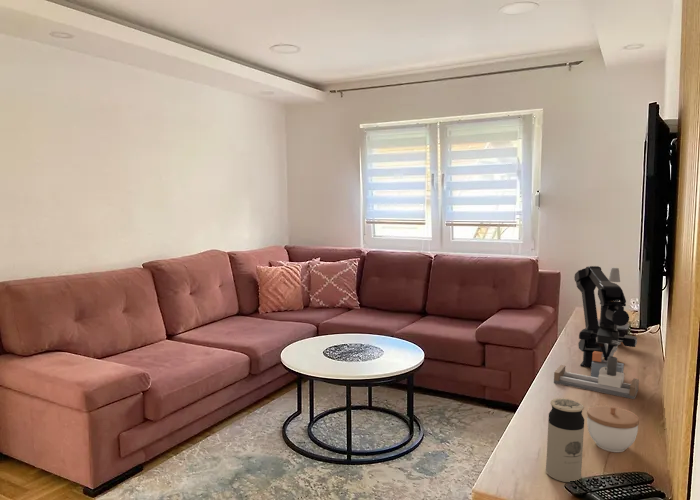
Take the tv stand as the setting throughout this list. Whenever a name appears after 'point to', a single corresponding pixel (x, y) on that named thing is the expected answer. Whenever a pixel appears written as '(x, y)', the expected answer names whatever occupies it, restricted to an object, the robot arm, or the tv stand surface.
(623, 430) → the lidded bowl
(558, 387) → the tv stand surface
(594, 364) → the box
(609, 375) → the carriage
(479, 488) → the tv stand surface
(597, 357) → the block
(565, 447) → the travel mug
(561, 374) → the rail board
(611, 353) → the grey faceted rock
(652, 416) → the tv stand surface
